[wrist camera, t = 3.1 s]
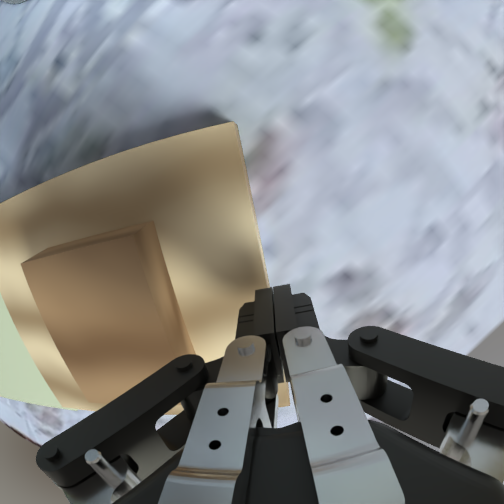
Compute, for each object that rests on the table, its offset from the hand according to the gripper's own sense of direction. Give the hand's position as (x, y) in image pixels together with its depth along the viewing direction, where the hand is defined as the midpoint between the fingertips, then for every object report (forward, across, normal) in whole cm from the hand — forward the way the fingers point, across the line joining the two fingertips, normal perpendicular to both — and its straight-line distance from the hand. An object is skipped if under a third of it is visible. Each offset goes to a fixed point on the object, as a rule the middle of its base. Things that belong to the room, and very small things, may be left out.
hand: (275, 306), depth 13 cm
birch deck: (+4, +9, 0) cm, 10 cm away
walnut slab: (+2, +8, 0) cm, 8 cm away
